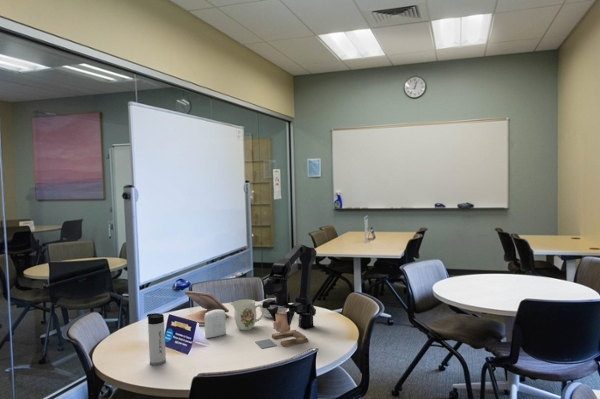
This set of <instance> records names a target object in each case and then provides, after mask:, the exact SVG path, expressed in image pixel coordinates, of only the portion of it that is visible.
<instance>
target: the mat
mask: <svg viewBox="0 0 600 399" xmlns="http://www.w3.org/2000/svg"><path fill="white" fill-rule="evenodd" d="M255 344H256V345H257V346H258V347H259V348H260V349H261V350H262V349H268V348H272V347H277V343H275V342H274V341H273V340H272V339H271V338H267V339H262V340H257V341H255Z"/></svg>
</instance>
